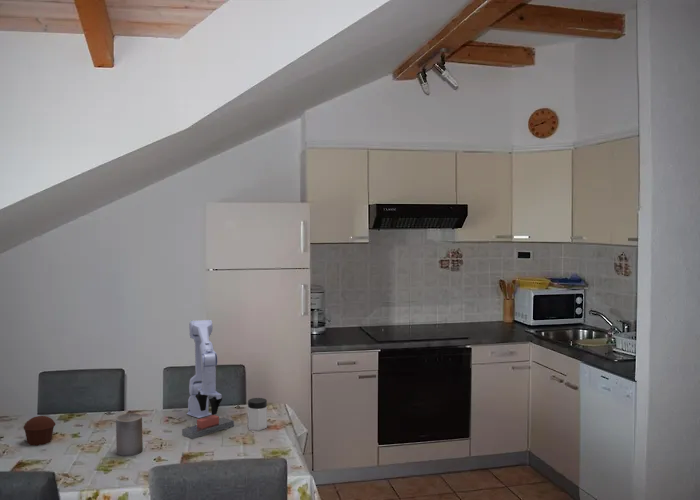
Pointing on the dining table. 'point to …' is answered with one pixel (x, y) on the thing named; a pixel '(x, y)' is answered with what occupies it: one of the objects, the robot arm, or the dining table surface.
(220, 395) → the robot arm
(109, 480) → the dining table surface
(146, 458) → the dining table surface
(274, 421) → the dining table surface
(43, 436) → the muffin
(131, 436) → the pillar candle
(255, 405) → the jar
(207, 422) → the clip
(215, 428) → the rail
